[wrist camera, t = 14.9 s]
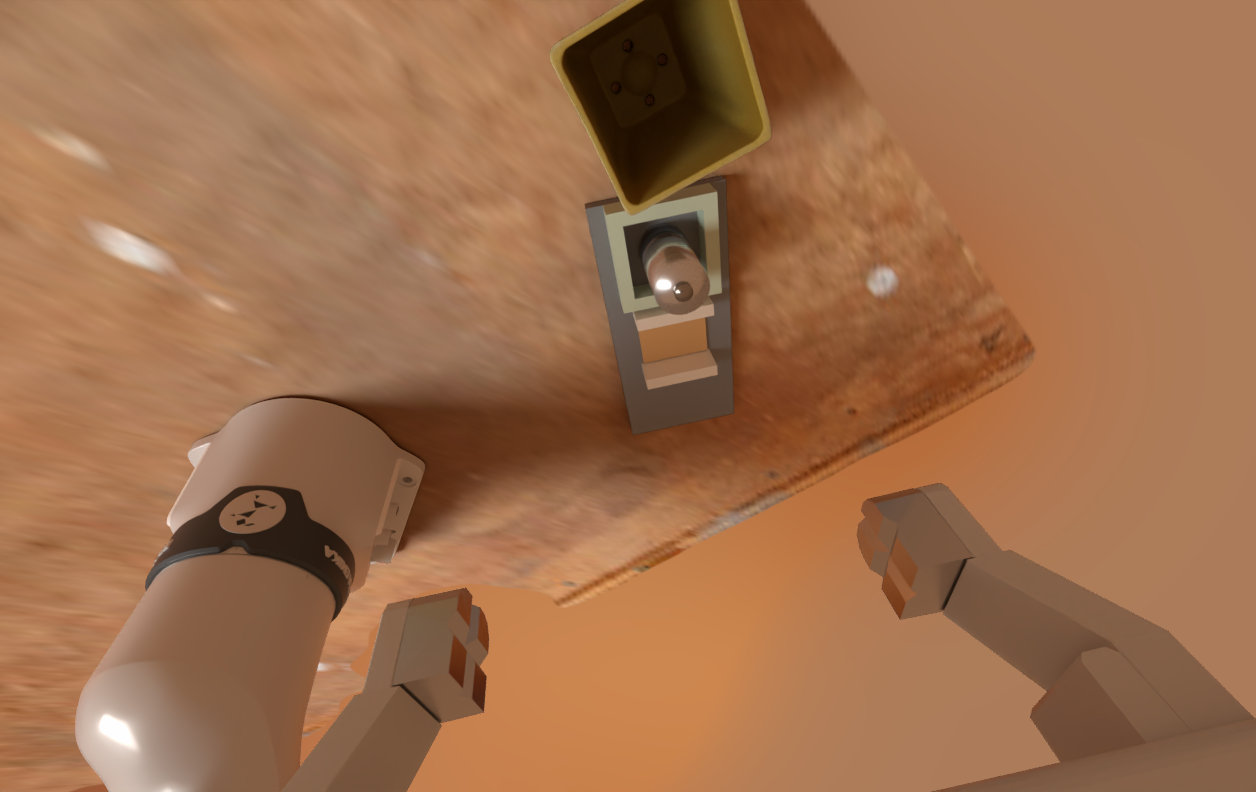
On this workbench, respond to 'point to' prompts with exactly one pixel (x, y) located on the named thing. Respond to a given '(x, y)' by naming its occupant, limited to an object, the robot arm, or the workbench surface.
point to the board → (642, 404)
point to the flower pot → (664, 93)
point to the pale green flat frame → (675, 204)
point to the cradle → (674, 345)
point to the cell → (673, 269)
